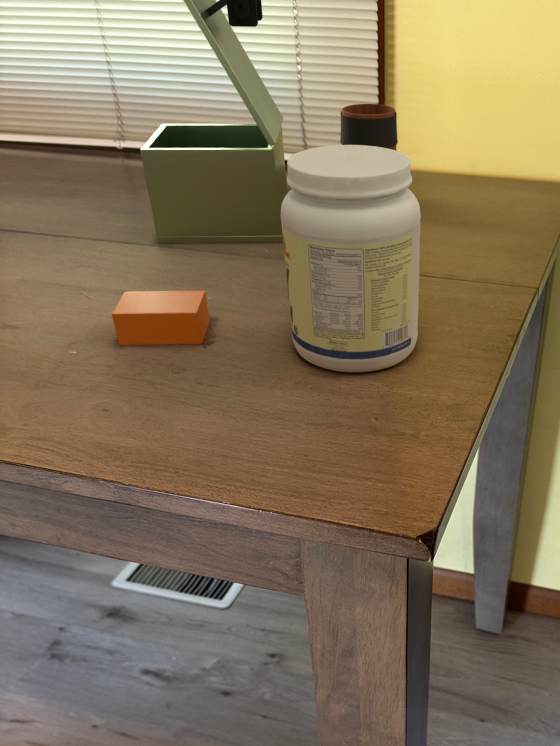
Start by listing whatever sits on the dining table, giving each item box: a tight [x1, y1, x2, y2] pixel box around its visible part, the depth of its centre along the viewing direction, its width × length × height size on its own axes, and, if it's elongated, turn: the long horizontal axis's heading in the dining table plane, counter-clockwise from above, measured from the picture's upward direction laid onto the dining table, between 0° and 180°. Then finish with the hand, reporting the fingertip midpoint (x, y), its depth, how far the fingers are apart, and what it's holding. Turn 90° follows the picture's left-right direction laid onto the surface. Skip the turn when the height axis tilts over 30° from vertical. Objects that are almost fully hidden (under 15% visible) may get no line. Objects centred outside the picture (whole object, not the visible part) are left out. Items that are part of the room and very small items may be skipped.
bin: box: [139, 123, 288, 244], centre depth 97 cm, size 16×14×11 cm
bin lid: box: [182, 0, 284, 147], centre depth 89 cm, size 16×14×5 cm
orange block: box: [111, 290, 211, 346], centre depth 75 cm, size 8×6×3 cm
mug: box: [339, 103, 399, 151], centre depth 108 cm, size 9×12×12 cm
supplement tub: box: [281, 144, 422, 373], centre depth 68 cm, size 12×12×17 cm
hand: (246, 21), depth 87 cm, fingers closed on bin lid, 5 cm apart
